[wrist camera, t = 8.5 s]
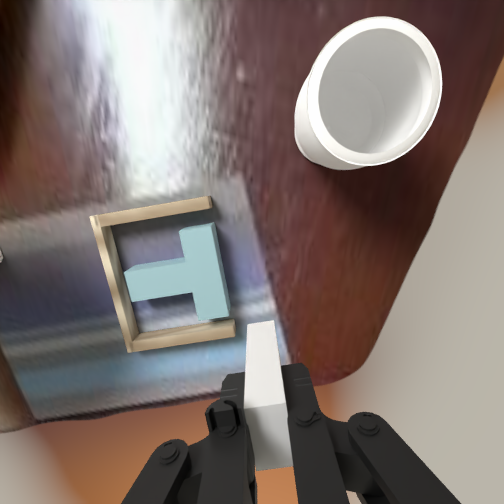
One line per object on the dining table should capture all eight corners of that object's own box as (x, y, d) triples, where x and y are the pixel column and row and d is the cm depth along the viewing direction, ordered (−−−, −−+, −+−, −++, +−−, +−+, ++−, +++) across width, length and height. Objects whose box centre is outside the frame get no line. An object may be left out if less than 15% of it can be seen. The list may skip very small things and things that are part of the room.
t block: (127, 237, 41) (115, 241, 37) (214, 222, 40) (210, 225, 37) (148, 318, 43) (139, 330, 40) (230, 305, 43) (228, 316, 39)
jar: (345, 186, 39) (401, 186, 24) (272, 154, 38) (284, 134, 23) (384, 104, 37) (471, 50, 22) (307, 68, 36) (345, -13, 21)
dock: (99, 214, 40) (89, 216, 37) (210, 195, 39) (207, 196, 37) (134, 343, 44) (127, 352, 41) (236, 328, 43) (234, 336, 41)
